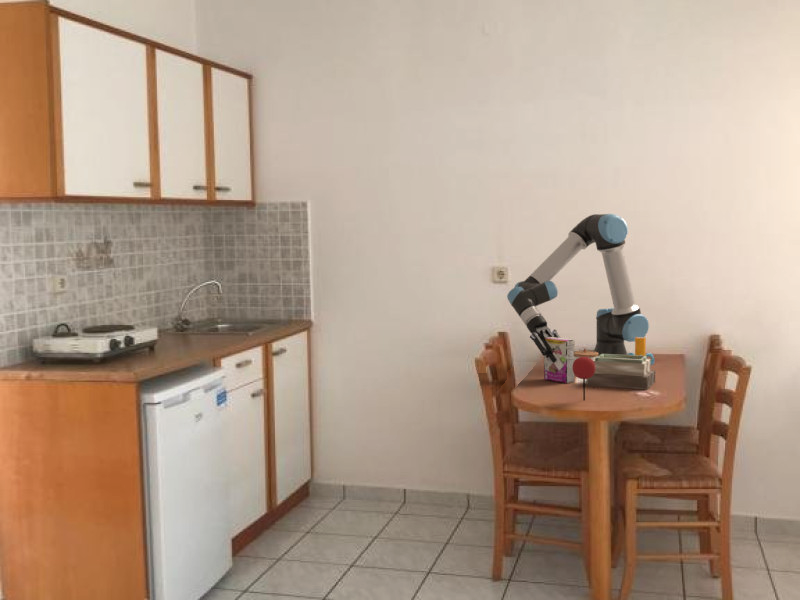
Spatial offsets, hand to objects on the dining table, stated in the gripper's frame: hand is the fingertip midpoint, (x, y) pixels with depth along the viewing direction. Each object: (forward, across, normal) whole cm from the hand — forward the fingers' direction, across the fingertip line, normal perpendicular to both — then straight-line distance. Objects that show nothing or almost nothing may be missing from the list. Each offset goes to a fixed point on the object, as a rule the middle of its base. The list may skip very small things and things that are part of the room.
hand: (566, 367), depth 348 cm
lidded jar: (-3, -24, -12) cm, 27 cm away
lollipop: (+23, +22, +14) cm, 35 cm away
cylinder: (+12, -32, +3) cm, 34 cm away
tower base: (+16, -12, +7) cm, 21 cm away
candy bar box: (+2, 0, -7) cm, 7 cm away
